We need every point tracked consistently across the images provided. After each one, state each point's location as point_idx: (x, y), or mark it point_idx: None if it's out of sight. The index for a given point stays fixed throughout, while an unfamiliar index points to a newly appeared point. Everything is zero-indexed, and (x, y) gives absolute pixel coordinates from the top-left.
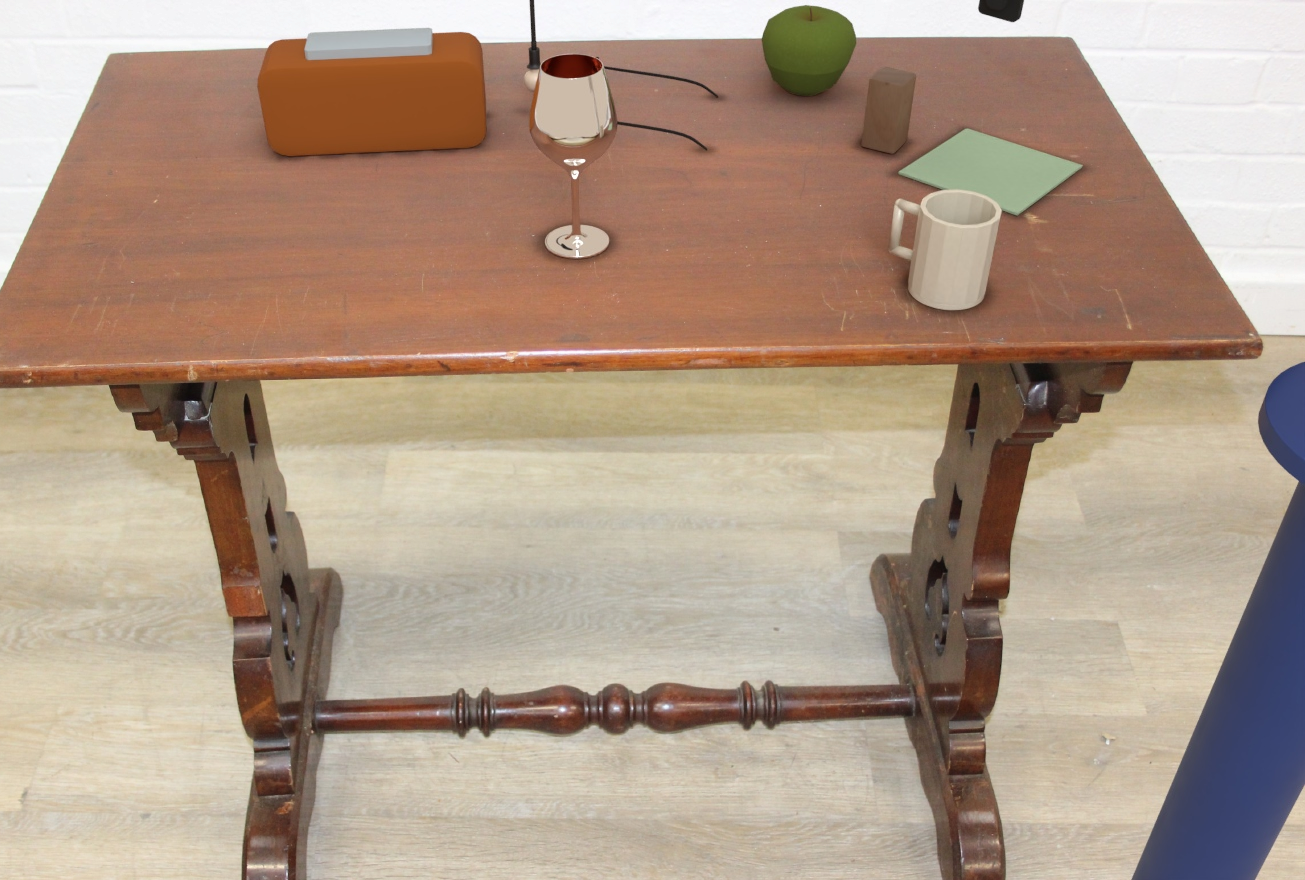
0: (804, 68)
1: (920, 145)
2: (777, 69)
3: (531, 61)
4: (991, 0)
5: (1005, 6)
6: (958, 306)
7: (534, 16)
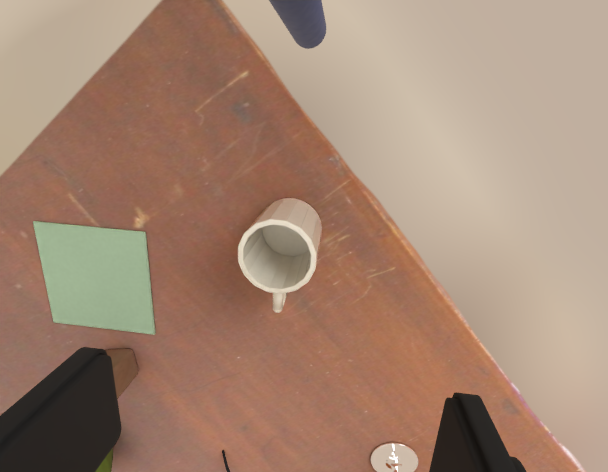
0: None
1: (103, 338)
2: (110, 469)
3: None
4: None
5: (514, 460)
6: (312, 208)
7: None
